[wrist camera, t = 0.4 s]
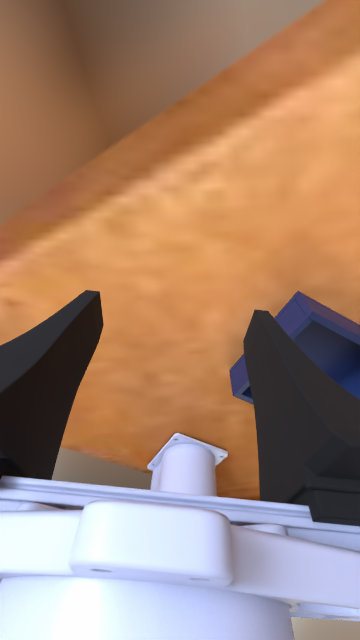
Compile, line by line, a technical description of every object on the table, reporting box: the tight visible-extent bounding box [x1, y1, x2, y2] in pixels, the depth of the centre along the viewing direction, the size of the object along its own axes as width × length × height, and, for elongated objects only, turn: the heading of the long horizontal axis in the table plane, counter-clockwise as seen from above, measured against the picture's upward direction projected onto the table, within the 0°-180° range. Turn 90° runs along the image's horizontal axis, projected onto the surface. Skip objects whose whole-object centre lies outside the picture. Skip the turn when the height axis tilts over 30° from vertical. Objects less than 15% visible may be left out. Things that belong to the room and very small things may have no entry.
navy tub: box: [230, 291, 360, 404], centre depth 25 cm, size 11×11×4 cm
